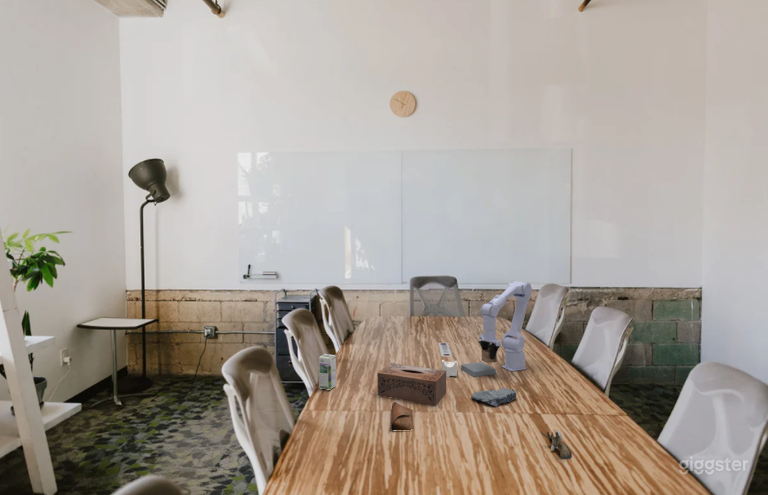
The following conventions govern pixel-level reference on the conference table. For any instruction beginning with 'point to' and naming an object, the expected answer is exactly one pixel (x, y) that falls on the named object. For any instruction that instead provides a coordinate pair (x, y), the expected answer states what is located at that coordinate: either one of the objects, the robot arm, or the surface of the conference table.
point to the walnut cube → (488, 356)
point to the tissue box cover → (412, 383)
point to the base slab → (478, 369)
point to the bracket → (450, 368)
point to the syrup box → (327, 371)
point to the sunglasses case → (401, 417)
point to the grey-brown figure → (558, 444)
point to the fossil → (495, 396)
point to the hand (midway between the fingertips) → (489, 357)
